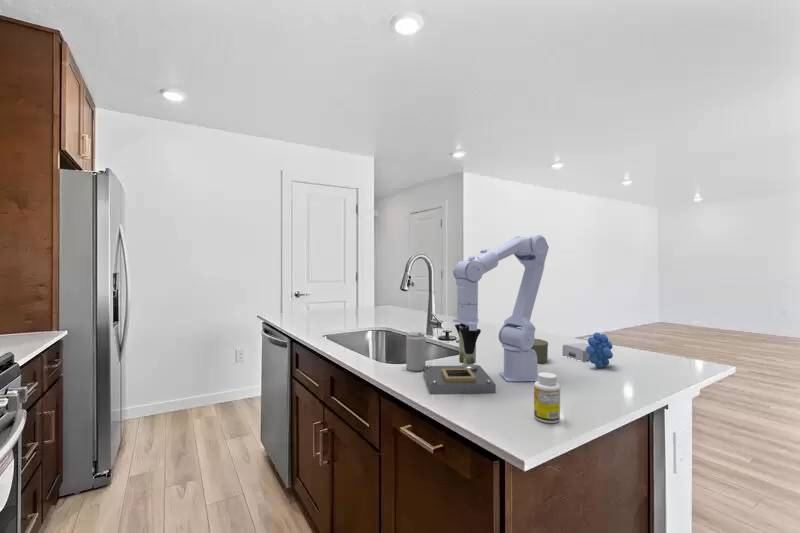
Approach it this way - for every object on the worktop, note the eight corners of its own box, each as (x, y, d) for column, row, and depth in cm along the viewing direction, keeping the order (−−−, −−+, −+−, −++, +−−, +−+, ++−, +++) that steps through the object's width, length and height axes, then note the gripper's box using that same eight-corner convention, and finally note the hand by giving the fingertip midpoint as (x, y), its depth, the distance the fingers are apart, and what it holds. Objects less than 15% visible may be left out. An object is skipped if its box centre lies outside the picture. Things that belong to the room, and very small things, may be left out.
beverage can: (424, 372, 123) (424, 335, 123) (404, 371, 125) (404, 334, 124) (426, 367, 130) (426, 331, 129) (408, 366, 131) (408, 331, 131)
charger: (612, 358, 142) (582, 362, 136) (591, 352, 150) (562, 356, 145) (612, 345, 142) (582, 349, 136) (591, 340, 150) (562, 343, 145)
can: (548, 366, 131) (548, 346, 131) (511, 363, 135) (511, 343, 135) (548, 357, 142) (548, 339, 142) (514, 355, 146) (514, 337, 146)
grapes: (598, 373, 123) (598, 336, 122) (580, 367, 129) (581, 332, 129) (623, 369, 127) (623, 333, 127) (604, 364, 134) (605, 329, 133)
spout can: (474, 359, 111) (474, 324, 111) (477, 364, 106) (477, 327, 106) (457, 359, 111) (457, 324, 111) (460, 364, 106) (460, 327, 106)
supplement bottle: (539, 412, 92) (539, 369, 92) (563, 418, 88) (563, 374, 88) (530, 419, 88) (530, 375, 87) (555, 426, 84) (555, 380, 84)
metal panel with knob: (479, 373, 123) (479, 362, 123) (495, 393, 105) (495, 380, 105) (423, 373, 122) (423, 362, 122) (429, 393, 104) (429, 381, 104)
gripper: (448, 300, 115) (448, 345, 116) (458, 306, 101) (458, 358, 101) (472, 300, 116) (471, 345, 116) (485, 306, 101) (484, 358, 101)
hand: (467, 351), depth 109 cm, fingers closed on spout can, 5 cm apart
